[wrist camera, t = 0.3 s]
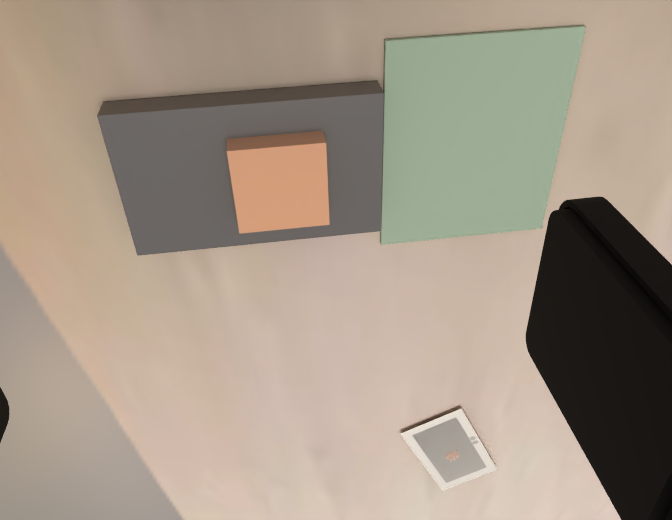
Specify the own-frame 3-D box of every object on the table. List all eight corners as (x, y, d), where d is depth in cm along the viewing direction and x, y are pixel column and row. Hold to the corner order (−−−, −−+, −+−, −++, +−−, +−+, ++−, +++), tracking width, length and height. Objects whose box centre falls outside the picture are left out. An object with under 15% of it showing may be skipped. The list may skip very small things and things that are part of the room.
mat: (384, 39, 43) (385, 40, 43) (583, 24, 44) (585, 26, 44) (380, 242, 54) (381, 244, 53) (539, 225, 55) (541, 228, 55)
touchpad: (440, 483, 80) (444, 498, 78) (398, 426, 71) (402, 441, 70) (494, 462, 79) (500, 476, 77) (458, 401, 70) (464, 415, 68)
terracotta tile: (226, 138, 43) (226, 151, 42) (322, 130, 44) (326, 142, 42) (239, 219, 47) (239, 233, 46) (326, 211, 48) (329, 224, 46)
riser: (103, 101, 43) (97, 115, 41) (377, 80, 45) (383, 92, 43) (141, 237, 50) (137, 255, 48) (375, 214, 52) (380, 231, 50)
